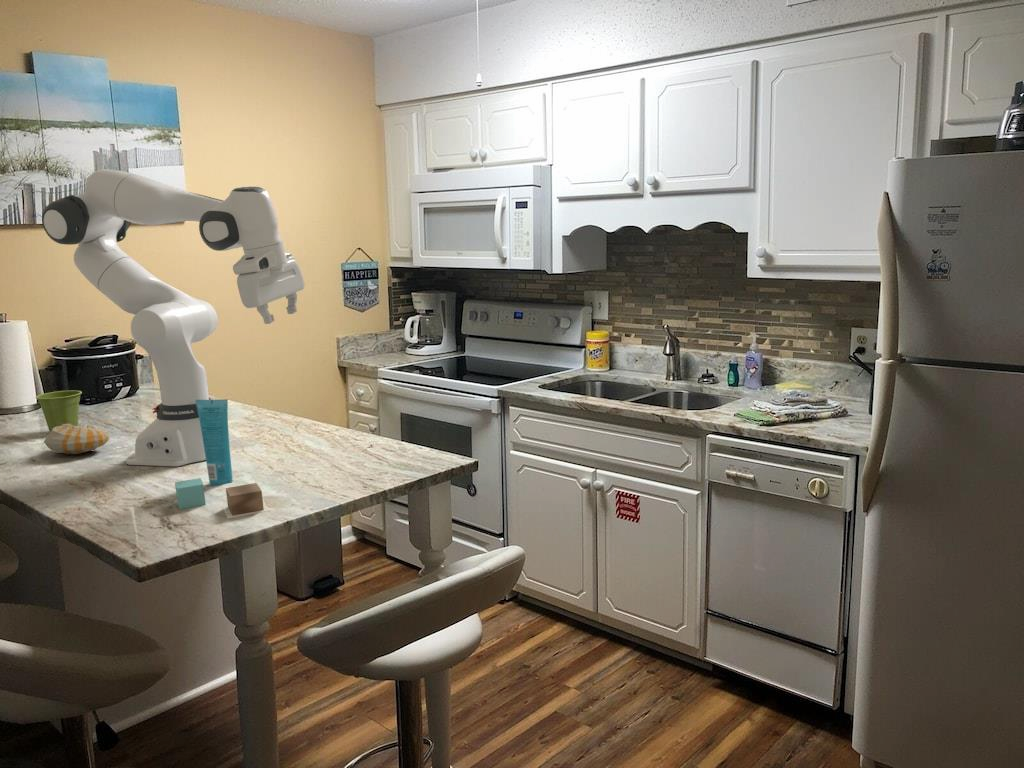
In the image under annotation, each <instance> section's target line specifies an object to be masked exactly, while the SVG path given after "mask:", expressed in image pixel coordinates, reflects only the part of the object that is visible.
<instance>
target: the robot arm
mask: <svg viewBox="0 0 1024 768" xmlns="http://www.w3.org/2000/svg"><path fill="white" fill-rule="evenodd" d="M179 222H198V223H199V224H198V228H199V229H198V230H199V235H200V237H201V239H202V241H203V243H204V244H205V245H206V246H207V247H208V248H209V249H211V250H213V251H217V252H218V251H222V252H224V251H230V250H233V249H238V248H242V250H243V255H242V256H241V258H239V260H237V262H235V264H233V266H232V270H233V273H234V275H236V276H237V275H238V276H237V277H236V284H237V289H238V293H239V294H238V295H239V297H240V300H241V303H242V304H243V306H244V307H245V308H246V309H253V308H256V311H257V312H258V313H259V314H260V316H261V317H262V320H263V323H264V324H265V325H270V324H272V323H274V322H275V317H274V314H271V313H270V311H269V305H268V304H269V303H272V302H274V301H277V300H280V299H282V298H286V300H287V306H286V311H287V314H288V315H295V314H296V313H297V312H298V308H297V300H298V294H297V293H298V292H300V291H303V290H304V289H305V285H306V284H305V280H304V277H303V274H302V270H301V268H300V265H299V263H298V262H297V261H296V260H295V256H293V254H291V253H290V252H286V249H285V246H284V242H283V239H282V237H281V235H280V233H279V222H278V218H277V214H276V210H275V207H274V204H273V201H272V198H271V197H270V194H269V193H268V191H267V190H266V189H265V188H263V187H260V186H242V187H236V188H233V189H232V190H231V191H230V193H229V195H228V196H227V198H226V199H224V200H223V199H219V198H214V197H211V196H207V195H203V194H200V193H195V192H191V191H187V190H184V189H182V188H179V187H175V186H171V185H168V184H166V183H162V182H160V181H157V180H154V179H150V178H148V177H146V176H142V175H140V174H139V175H138V174H135V173H132V172H129V171H124V170H116V169H108V168H104V169H98V170H96V171H93V172H92V173H91V174H90V175H89V177H88V178H87V180H86V182H85V190H84V193H81V194H77V195H74V194H69V195H67V196H64V197H60V198H59V199H57V200H55V201H52V202H51V203H49V204H48V205H46V206H45V207H44V209H43V211H42V213H41V223H42V227H43V229H44V231H45V233H46V235H47V236H48V237H49V238H50V239H51V240H52V241H53V242H55V243H57V244H60V245H69V246H71V245H72V246H73V245H78V246H77V247H76V248H75V250H74V254H73V263H74V265H75V266H76V268H77V269H78V271H80V273H81V274H82V275H83V277H85V278H86V280H87V281H89V283H90V284H91V285H92V286H93V287H95V288H96V289H97V290H98V291H99V292H100V293H102V294H103V295H104V296H105V297H106V298H108V299H109V300H110V301H111V302H113V303H114V304H115V305H116V306H118V308H120V309H121V310H122V311H124V312H126V313H128V314H131V315H133V317H132V318H131V321H130V334H131V336H132V338H133V340H134V341H135V343H136V344H137V345H138V346H139V347H141V348H142V349H144V350H145V352H146V353H147V354H148V356H149V357H150V359H151V362H152V363H153V366H154V368H155V371H156V374H157V379H158V385H159V392H160V393H159V394H160V398H161V402H160V404H158V405H156V406H155V407H154V408H151V409H152V414H155V413H156V419H154V420H153V421H152V422H151V423H150V424H149V425H148V426H147V427H145V428H144V429H143V430H141V432H140V433H139V434H138V435H137V437H136V439H135V443H134V453H132V454H130V455H129V456H127V458H126V460H125V461H126V462H125V463H126V465H127V464H128V466H150V467H151V466H153V467H182V466H185V465H188V464H192V463H197V462H203V461H206V456H205V450H204V444H203V438H202V432H201V426H200V420H199V415H198V410H197V406H196V400H212V398H210V396H209V395H210V394H209V393H210V392H209V387H208V378H207V370H206V368H205V365H204V364H202V363H200V362H198V360H197V359H196V356H195V354H194V352H193V350H192V347H191V344H195V343H198V342H201V341H202V340H205V339H207V337H208V336H211V335H212V334H213V333H214V332H215V331H216V329H217V326H218V319H219V317H218V314H217V312H216V309H215V308H214V306H213V305H212V304H210V303H209V302H207V301H206V300H205V301H204V300H202V299H199V298H195V297H194V296H191V295H189V294H187V293H185V292H184V291H182V290H180V289H178V288H175V287H174V286H172V285H170V284H168V283H167V282H164V281H163V280H161V279H160V278H158V277H156V276H155V275H154V274H152V273H151V272H150V271H148V270H147V269H146V268H145V267H143V266H142V265H141V264H140V263H139V262H137V261H136V260H135V259H134V258H132V256H130V255H129V254H127V253H126V252H125V251H123V250H122V249H121V248H120V247H119V244H118V243H119V242H121V241H123V240H124V239H125V238H126V236H127V231H128V229H129V228H130V226H131V223H132V224H136V225H140V226H141V225H143V226H159V225H166V224H172V223H173V224H174V223H179Z"/></svg>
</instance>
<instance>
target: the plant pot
mask: <svg viewBox="0 0 1024 768" xmlns="http://www.w3.org/2000/svg"><path fill="white" fill-rule="evenodd" d="M82 393H83V392H82V391H81V390H72V389H71V390H57V391H52V392H46V393H42V394H41V393H40V394H39V395H35V399H37V401H38V404H39V406H40V408H41V410H42V412H43V417H44V418H45V422H46V425H47V429H48V431H49V432H50V431H51V430H52V429H53V428H54V427H58V426H62V424H72V425H76V426H79V415H80V414H79V412H80V411H79V410H80V409H79V408H80V401H81V394H82ZM61 423H62V424H61Z"/></svg>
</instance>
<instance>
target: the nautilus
mask: <svg viewBox="0 0 1024 768" xmlns="http://www.w3.org/2000/svg"><path fill="white" fill-rule="evenodd" d="M61 424H62V423H61ZM109 440H110V435H109V433H108V432H107V431H105V430H102V429H100V428H96V427H93V426H92V425H80V426H79V425H78V426H76V425H72V424H62V426H58V427H54V428H53V429H52V430H51V431H49V432H48V434H47V435H46V437H45V438H44V440H43V443H44V444H45V446H46V447H47V448H48V449H50V450H51V452H54V453H60V454H65V453H66V455H69V454H76V455H79V454H83V453H86V452H92V451H91V450H94V451H95V450H96V449H97V448H100V447H102V446H104V445H106V444H107V442H108V441H109Z"/></svg>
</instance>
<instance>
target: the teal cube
mask: <svg viewBox="0 0 1024 768" xmlns="http://www.w3.org/2000/svg"><path fill="white" fill-rule="evenodd" d="M174 486H175V492H176V493H175V494H176V495H175V496H176V502H177V506H178V509H179V510H181V509H182V510H183V509H188V508H195V507H201V506H205V505H206V496H205V489H204V488H205V486H204V483H203V481H202V478H199V477H198V478H193V479H188V480H181V481H175V482H174Z"/></svg>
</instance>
